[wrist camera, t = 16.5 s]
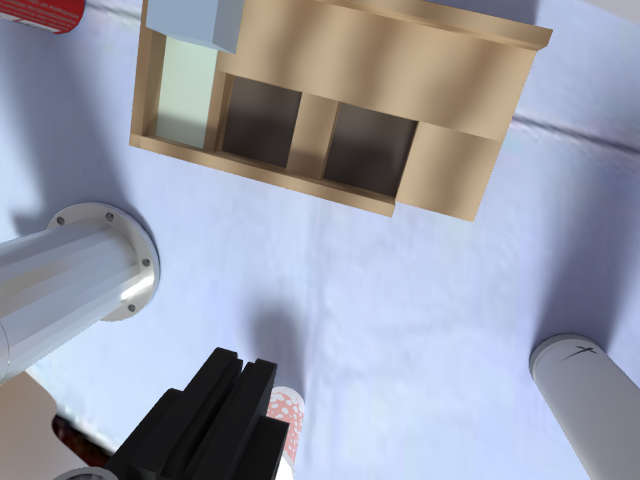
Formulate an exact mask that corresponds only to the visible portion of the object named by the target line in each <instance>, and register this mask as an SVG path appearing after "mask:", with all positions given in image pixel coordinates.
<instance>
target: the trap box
mask: <svg viewBox="0 0 640 480" xmlns="http://www.w3.org/2000/svg"><path fill="white" fill-rule="evenodd" d="M147 9H148V0H143V5H142V16H141V26H140V36H139V47H138V57H137V68H136V78H135V88H134V99H133V109H132V120H131V130H130V140H129V145H130V146H134V147H137V148H141V149H145V150H148V151H152V152H156V153H159V154H163V155H166V156H170V157H174V158H177V159H181V160H185V161H188V162H192V163H195V164H199V165H203V166H206V167H210V168H214V169H217V170H221V171H225V172H228V173H232V174H235V175H239V176H243V177H246V178H250V179H254V180H257V181H261V182H265V183H268V184H272V185H275V186H279V187H283V188H286V189H290V190H294V191H297V192H301V193H304V194H308V195H312V196H315V197H319V198H323V199H326V200H330V201H334V202H337V203H341V204H344V205H348V206H352V207H355V208H359V209H363V210H366V211H370V212H374V213H377V214H381V215H384V216H388V217H392V215H393V211H394V208H395V201H397V202H401V203H404V204H408V205H412V206H415V207H419V208H423V209H426V210H430V211H434V212H437V213H441V214H445V215H448V216H452V217H456V218H460V219H463V220H467V221H471V222H473V221H474V218H475V216H476V213H477V210H478V208H479V205H480V202H481V200H482V197H483V194H484V192H485V189H486V186H487V184H488V181H489V178H490V175H491V173H492V170H493V167H494V165H495V162H496V159H497V157H498V154H499V151H500V149H501V146H502V143H503V141H504V138H505V135H506V132H507V130H508V127H509V124H510V122H511V119H512V116H513V114H514V111H515V108H516V106H517V103H518V100H519V98H520V95H521V92H522V89H523V87H524V84H525V81H526V79H527V76H528V73H529V71H530V68H531V65H532V63H533V60H534V57H535V55H536V52H537V51H538V50H540V49H542V48H544V47H546V46H547V45H548V42H549V40H550V37H551V34H552V32H553V30H552V29H548V28H543V27H539V26H534V25H530V24H525V23H521V22H516V21H512V20H508V19H503V18H499V17H494V16H490V15H485V14H481V13H476V12H472V11H467V10H463V9H459V8H454V7H450V6H445V5H441V4H436V3H432V2H427V1H423V0H244V6H243V12H242V18H241V24H240V31H239V37H238V43H237V49H236V54H231V53H227V52H223V51H219V50H218V52H217V53H218V54H217V58H216V67H215V73H214V78H213V85H212V87H213V88H212V95H211V99H210V101H211V102H210V105H209V107H210V108H209V112H208V113H209V114H208V118H207V120H208V121H207V126H206V131H205V134H206V135H205V138H204V140H205V141H204V144H203V145H204V146H203V149H202V148H198V147H194V146H190V145H187V144H183V143H179V142H176V141H172V140H168V139H165V138H161V137H157V136H155V133H156V125H157V116H158V107H159V99H160V90H161V81H162V72H163V64H164V55H165V46H166V37H167V35H164V34H162V33H160V32H157V31H155V30H152V29H150V28H148V27H146V19H147Z"/></svg>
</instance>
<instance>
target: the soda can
mask: <svg viewBox="0 0 640 480" xmlns="http://www.w3.org/2000/svg"><path fill="white" fill-rule="evenodd" d="M83 12H84V0H0V18H3V19H6V20H10V21H13V22H17V23H20V24H24V25H27V26H31V27H34V28H38V29H41V30H45V31H48V32H52V33H55V34H62V33H67V32H70V31H71V30H72V29H73V28H75V27H76V26H77V25H78V23H79V22H80V20H81V18H82V15H83Z"/></svg>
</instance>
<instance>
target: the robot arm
mask: <svg viewBox="0 0 640 480" xmlns="http://www.w3.org/2000/svg"><path fill="white" fill-rule="evenodd" d="M159 272H160V267H159V261H158V256H157V253H156V250H155V247H154V245H153V243H152V241H151V239H150V238H149V236H148V234H147V233H146V231H145V230H144V229H143V228H142V226H141V225H140V224H139V223H138V222H137V221H136V220H135V219H134V218H132V217H131V216H130V215H129V214H127V213H125V212H124V211H122V210H121V209H119V208H116V207H114V206H112V205H109V204H105V203H100V202H84V203H79V204H75V205H72V206H69V207H66V208H64V209H63V210H61V211H60V212H58V213H57V214H56V215H55V216H54V217H53V218H52V219H51V220H50V222H49V224H48V225H47V227H46V229H45V230H44V231H40V232H37V233H33V234H30V235H27V236H23V237H20V238H16V239H13V240H10V241H6V242H3V243H0V386H1V385H2V384H4V383H5V382H7V381H8V380H10V379H12V378H13V377H15V376H16V375H18V374H19V373H21V372H22V371H24V370H25V369H27V368H28V367H30V366H31V365H33V364H34V363H36V362H37V361H39V360H40V359H42V358H43V357H45V356H46V355H48V354H49V353H51V352H52V351H54V350H55V349H57V348H58V347H60V346H61V345H63V344H64V343H66V342H67V341H69V340H71V339H72V338H74V337H75V336H77V335H78V334H80V333H81V332H83V331H84V330H86V329H87V328H89V327H90V326H92V325H93V324H95V323H96V322H98V321H99V320H100V321H109V322H114V321H122V320H125V319H127V318H130V317H132V316H134V315H135V314H137V313H138V312H140V311H141V310H142V309H144V308H145V307H146V306H147V305H148V304H149V302H150V301H151V300H152V299H153V297H154V295H155V292H156V290H157V287H158V283H159ZM237 357H238V354H237V352H233V351H230V350H226V349H223V348H219V347H217V348H216V349H215V350H214V351H213V353H212V354H211V355H210V357H209V358H208V359H207V361H206V362H205V363H204V364H203V366H202V367H201V368H200V370H199V371H198V372H197V374H196V375H195V376H194V378H193V379H192V380H191V381H190V383H189V384H188V385H187V387H186V388H185V389H184V391H180V390H177V389H174V388H170V389H168V390H167V391H166V392H165V393H164V394H163V396H162V397H161V398H160V399H159V400H158V402H157V403H156V404H155V405H154V407H153V408H152V409H151V410H150V411H149V413H148V414H147V415H146V416H145V417H144V419H143V420H142V421H141V422H140V423H139V425H138V426H137V427H136V428H135V429H134V431H133V432H132V433H131V434H130V436H129V437H128V438H127V439H126V440H125V442H124V443H123V444H122V445H121V446H120V448H119V449H118V450H117V451H116V452H115V454H114V455H113V456H112V457H111V458H110V460H109V461H108V462H107V463H106V464H105V466H104V467H103V468H99V467H83V468H78V469H74V470H71V471H68V472H66V473H64V474H61V475H59V476H57V477H56V478H55V479H53V480H275V479H276V476H277V472H278V468H279V465H280V461H281V457H282V454H283V450H284V446H285V442H286V438H287V433H288V429H289V424H290V423H288V422H285V421H281V420H278V419H275V418H271V417H268V416H266V415H267V411H268V406H269V402H270V397H271V393H272V388H273V384H274V379H275V374H276V370H277V364H276V363H272V362H269V361H265V360H262V359H257V360H256V361H255V363H251V362H248V363H247V364H246V366H245V368H244V370H243V371H242V366H243V360H241V359H238V358H237ZM241 371H242V373H241Z"/></svg>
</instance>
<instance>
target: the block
mask: <svg viewBox="0 0 640 480" xmlns="http://www.w3.org/2000/svg"><path fill="white" fill-rule="evenodd" d="M243 6H244V0H148V9H147V19H146V27H148V28H150V29H152V30H155V31H157V32H160V33H162V34H164V35H167V36H169V37H171V38H174V39H176V40H179V41H183V42H187V43H191V44H195V45H199V46H203V47H207V48H211V49H215V50H219V51H223V52H227V53H231V54H236V49H237V43H238V37H239V31H240V24H241V18H242V12H243Z"/></svg>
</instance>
